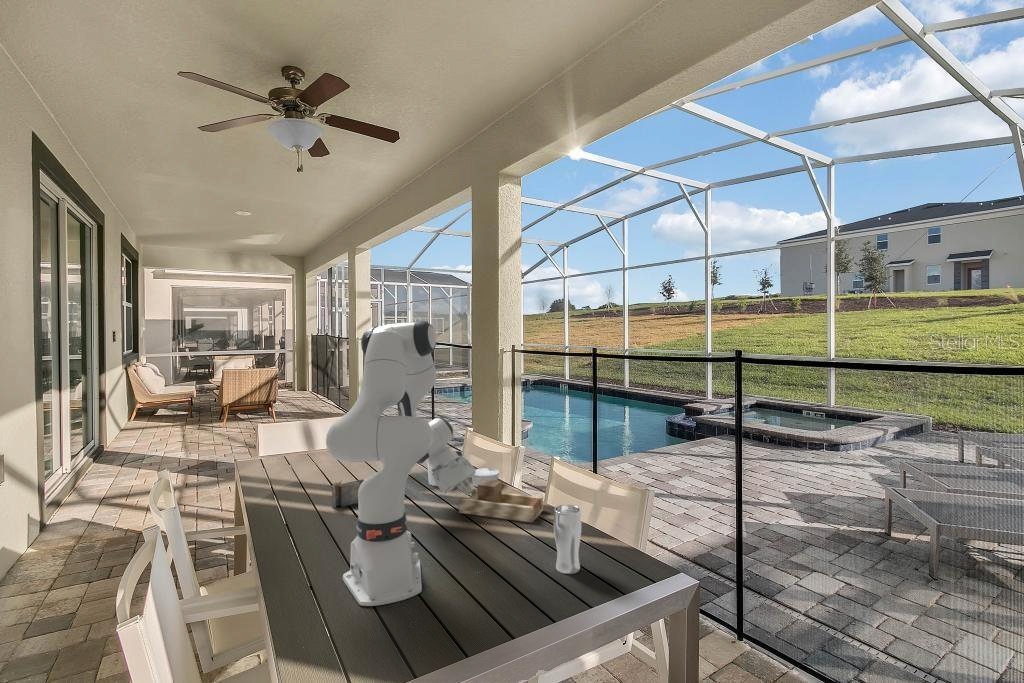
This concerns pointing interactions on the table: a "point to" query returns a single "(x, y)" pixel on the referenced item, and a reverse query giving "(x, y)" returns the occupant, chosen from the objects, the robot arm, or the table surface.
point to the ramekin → (484, 475)
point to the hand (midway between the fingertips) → (470, 493)
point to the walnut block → (490, 491)
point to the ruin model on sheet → (345, 493)
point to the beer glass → (567, 537)
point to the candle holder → (430, 476)
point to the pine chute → (504, 507)
